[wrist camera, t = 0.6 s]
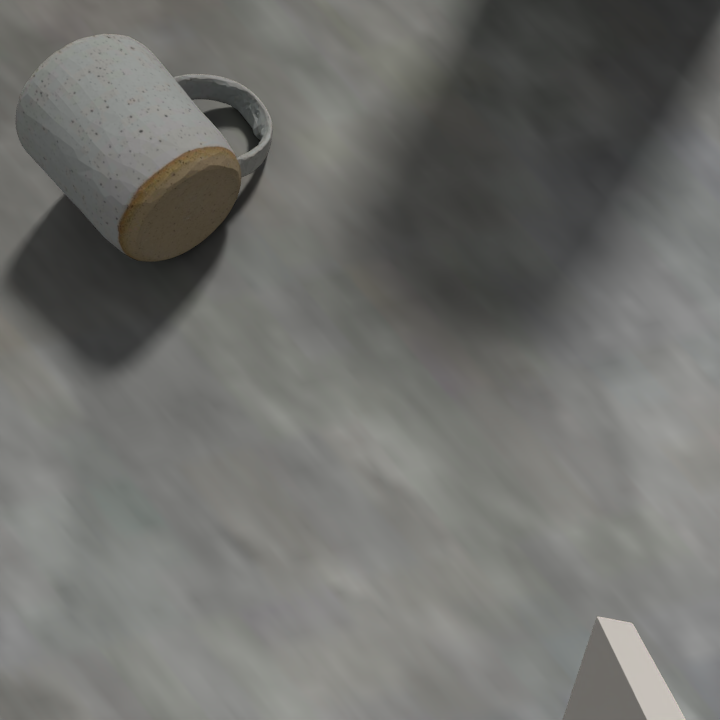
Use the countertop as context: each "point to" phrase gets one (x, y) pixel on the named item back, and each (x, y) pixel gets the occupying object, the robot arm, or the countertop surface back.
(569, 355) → the countertop surface
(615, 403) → the countertop surface
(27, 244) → the countertop surface
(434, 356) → the countertop surface
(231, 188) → the ceramic mug
